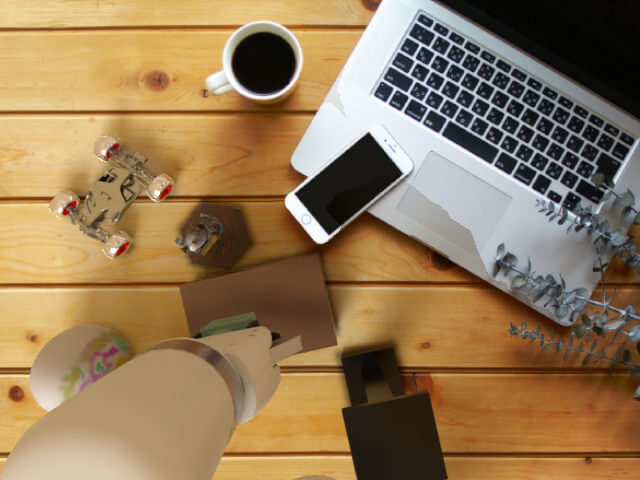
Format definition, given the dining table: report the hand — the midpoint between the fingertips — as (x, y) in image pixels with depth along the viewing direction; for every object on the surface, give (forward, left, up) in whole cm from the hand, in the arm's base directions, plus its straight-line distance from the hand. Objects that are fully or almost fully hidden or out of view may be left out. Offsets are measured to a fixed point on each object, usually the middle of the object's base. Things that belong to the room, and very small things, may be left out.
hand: (231, 342), depth 49 cm
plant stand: (-14, -13, -29) cm, 35 cm away
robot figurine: (+12, +5, -30) cm, 32 cm away
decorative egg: (-3, +26, -30) cm, 40 cm away
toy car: (+20, +18, -30) cm, 40 cm away
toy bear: (0, 0, -3) cm, 3 cm away
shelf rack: (0, 0, -29) cm, 29 cm away
